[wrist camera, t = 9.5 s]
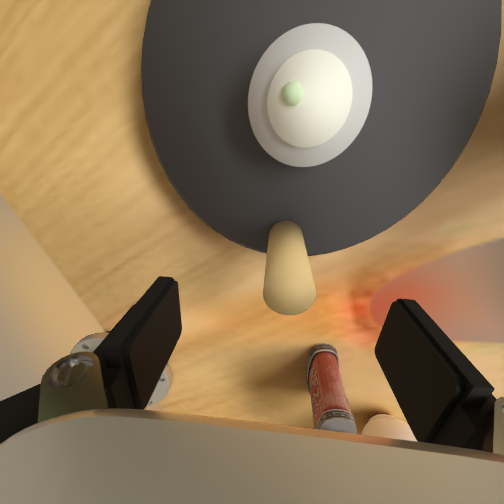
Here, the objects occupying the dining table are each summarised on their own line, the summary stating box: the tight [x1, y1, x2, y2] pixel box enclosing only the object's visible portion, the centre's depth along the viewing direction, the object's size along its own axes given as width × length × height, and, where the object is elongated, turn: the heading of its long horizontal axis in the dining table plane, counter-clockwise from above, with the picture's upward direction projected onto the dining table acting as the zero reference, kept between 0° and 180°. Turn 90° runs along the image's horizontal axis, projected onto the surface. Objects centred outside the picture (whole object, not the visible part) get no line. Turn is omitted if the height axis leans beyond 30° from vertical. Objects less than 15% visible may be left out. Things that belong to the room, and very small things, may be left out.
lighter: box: [306, 343, 357, 434], centre depth 22 cm, size 8×3×10 cm, turn 3°
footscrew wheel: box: [142, 0, 501, 315], centre depth 11 cm, size 19×19×8 cm
